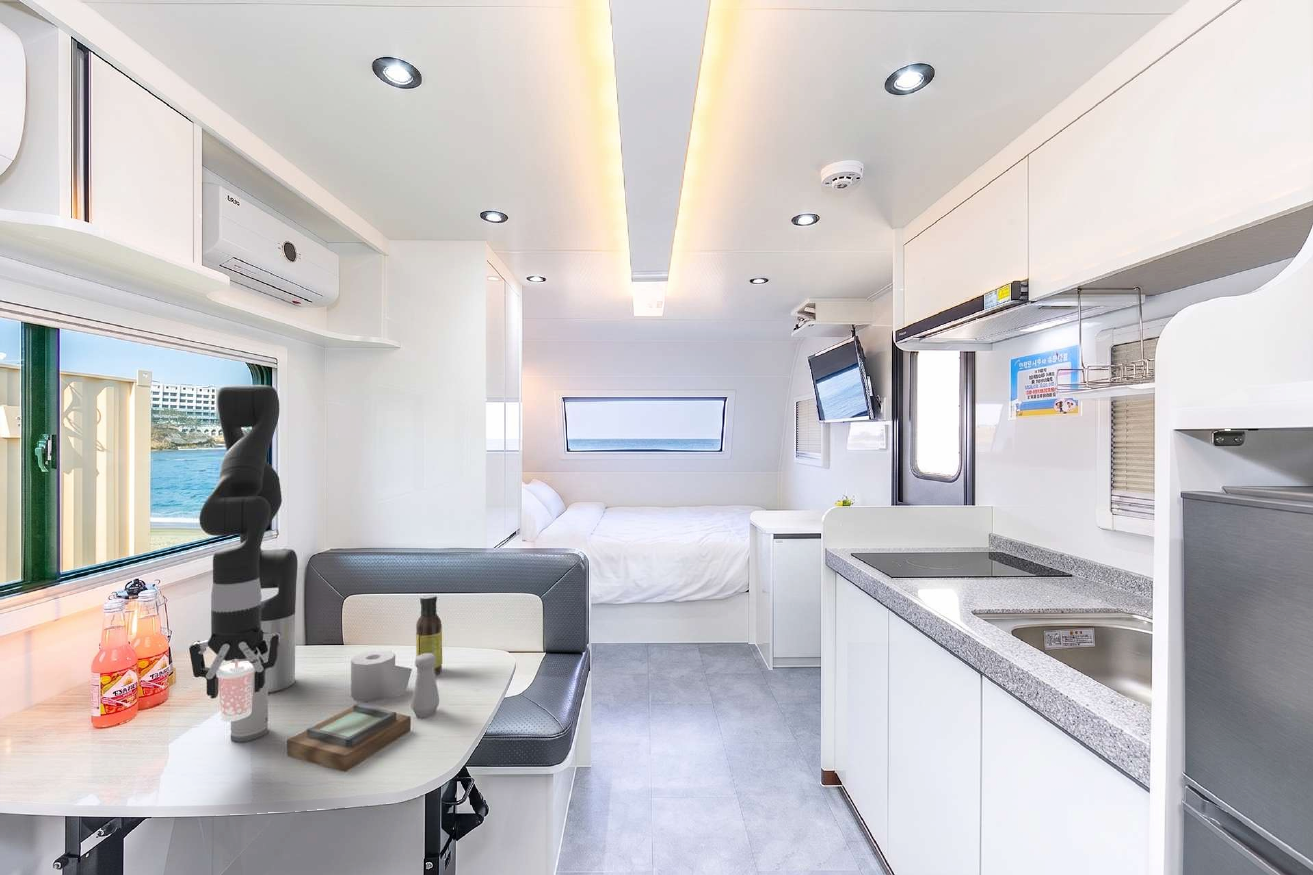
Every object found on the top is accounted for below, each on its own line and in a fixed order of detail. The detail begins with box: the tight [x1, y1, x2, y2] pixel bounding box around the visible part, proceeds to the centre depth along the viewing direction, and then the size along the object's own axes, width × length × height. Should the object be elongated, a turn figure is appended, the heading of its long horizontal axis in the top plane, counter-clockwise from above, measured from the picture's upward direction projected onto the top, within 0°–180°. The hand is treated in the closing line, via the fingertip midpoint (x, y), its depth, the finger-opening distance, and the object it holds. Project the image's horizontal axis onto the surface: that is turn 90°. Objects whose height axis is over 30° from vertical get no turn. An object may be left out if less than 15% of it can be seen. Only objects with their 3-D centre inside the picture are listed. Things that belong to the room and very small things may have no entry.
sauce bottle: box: [415, 594, 443, 676], centre depth 152 cm, size 6×6×20 cm
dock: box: [286, 703, 412, 772], centre depth 117 cm, size 15×16×4 cm
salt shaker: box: [410, 653, 440, 719], centre depth 130 cm, size 6×6×13 cm
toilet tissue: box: [350, 649, 413, 703], centre depth 141 cm, size 9×13×9 cm
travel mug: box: [230, 632, 269, 743], centre depth 120 cm, size 6×7×20 cm
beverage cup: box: [216, 659, 255, 723], centre depth 109 cm, size 6×6×14 cm
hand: (236, 693), depth 109 cm, fingers closed on beverage cup, 6 cm apart
